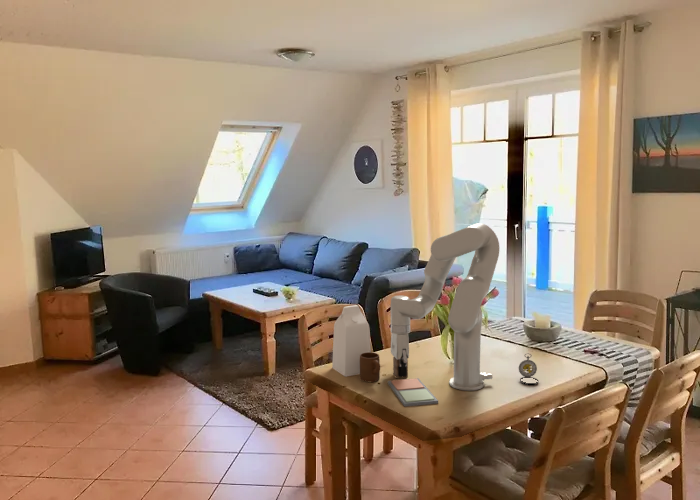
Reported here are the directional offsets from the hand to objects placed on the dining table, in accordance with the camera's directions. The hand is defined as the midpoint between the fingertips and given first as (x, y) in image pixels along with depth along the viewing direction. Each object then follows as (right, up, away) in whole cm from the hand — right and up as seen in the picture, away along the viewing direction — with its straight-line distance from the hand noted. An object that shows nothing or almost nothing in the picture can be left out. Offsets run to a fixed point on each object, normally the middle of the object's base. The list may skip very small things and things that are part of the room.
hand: (400, 373), depth 229 cm
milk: (-19, 0, +8) cm, 20 cm away
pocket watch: (+47, -2, -8) cm, 48 cm away
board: (+3, -3, -18) cm, 18 cm away
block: (0, -1, 0) cm, 1 cm away
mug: (-11, -2, -5) cm, 12 cm away
